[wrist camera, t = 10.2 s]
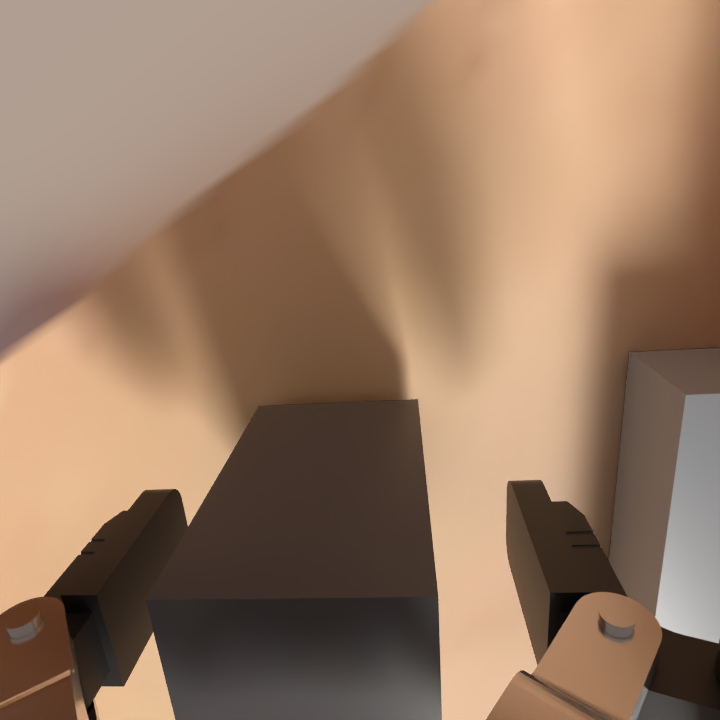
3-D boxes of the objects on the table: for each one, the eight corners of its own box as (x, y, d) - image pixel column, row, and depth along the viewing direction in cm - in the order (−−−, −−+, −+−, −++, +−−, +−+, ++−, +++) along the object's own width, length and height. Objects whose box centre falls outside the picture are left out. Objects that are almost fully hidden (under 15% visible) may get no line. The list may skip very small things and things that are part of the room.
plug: (283, 521, 17) (194, 797, 9) (265, 394, 16) (145, 600, 8) (421, 518, 17) (443, 801, 9) (416, 388, 15) (438, 596, 8)
